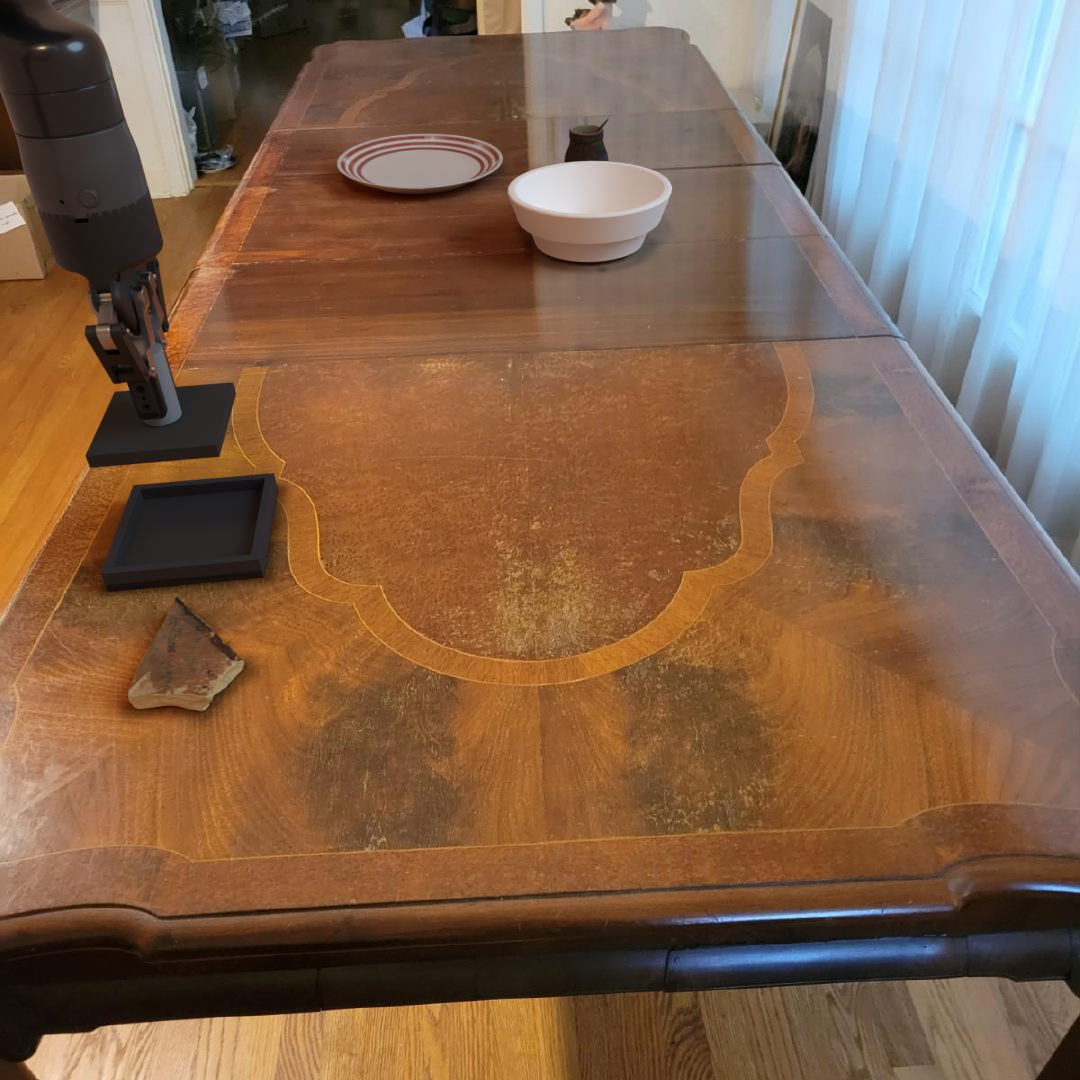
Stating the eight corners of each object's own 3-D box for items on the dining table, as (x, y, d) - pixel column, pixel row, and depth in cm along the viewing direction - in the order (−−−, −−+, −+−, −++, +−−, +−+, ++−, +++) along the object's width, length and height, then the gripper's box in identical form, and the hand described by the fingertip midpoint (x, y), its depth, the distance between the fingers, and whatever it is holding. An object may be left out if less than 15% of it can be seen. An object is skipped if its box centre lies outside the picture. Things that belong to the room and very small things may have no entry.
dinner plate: (527, 159, 170) (527, 139, 168) (461, 213, 151) (460, 191, 149) (388, 145, 179) (386, 126, 177) (308, 195, 159) (304, 174, 157)
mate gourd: (573, 170, 165) (572, 107, 159) (615, 175, 163) (617, 111, 156) (557, 184, 160) (556, 120, 154) (601, 189, 157) (602, 123, 151)
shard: (180, 610, 80) (175, 593, 79) (271, 612, 80) (267, 596, 79) (127, 709, 72) (120, 692, 71) (228, 713, 71) (223, 696, 70)
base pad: (107, 591, 82) (100, 573, 81) (139, 501, 93) (133, 484, 91) (263, 577, 83) (259, 559, 82) (278, 489, 94) (274, 472, 92)
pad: (89, 468, 76) (58, 387, 72) (118, 403, 84) (92, 326, 80) (219, 457, 77) (197, 376, 73) (236, 394, 85) (217, 317, 80)
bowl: (696, 262, 133) (701, 200, 128) (540, 289, 128) (538, 226, 123) (630, 208, 150) (632, 152, 145) (490, 230, 145) (486, 172, 139)
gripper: (63, 163, 74) (129, 367, 84) (4, 232, 63) (89, 457, 73) (165, 156, 74) (218, 361, 85) (124, 223, 63) (191, 448, 74)
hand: (158, 404), depth 79 cm, fingers closed on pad, 3 cm apart
